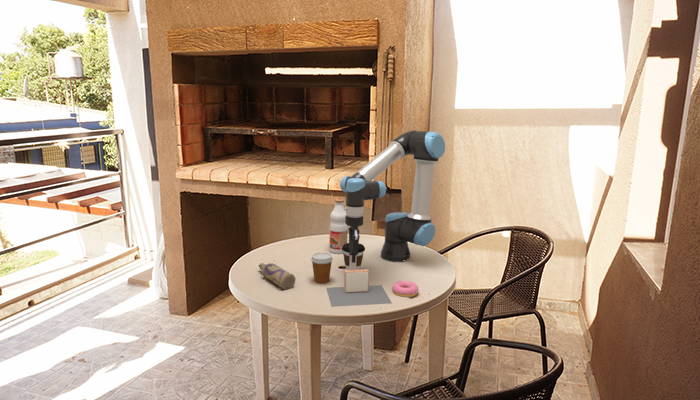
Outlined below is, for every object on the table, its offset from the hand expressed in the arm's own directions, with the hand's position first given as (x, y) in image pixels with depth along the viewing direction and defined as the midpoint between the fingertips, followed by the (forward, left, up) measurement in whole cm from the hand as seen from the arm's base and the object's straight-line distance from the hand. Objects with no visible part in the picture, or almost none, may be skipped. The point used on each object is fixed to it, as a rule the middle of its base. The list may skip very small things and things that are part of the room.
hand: (352, 268), depth 193 cm
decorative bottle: (+32, -10, -8) cm, 35 cm away
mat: (0, +12, -8) cm, 14 cm away
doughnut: (-20, +11, -8) cm, 24 cm away
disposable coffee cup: (+13, -5, -8) cm, 16 cm away
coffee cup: (-3, -17, -8) cm, 19 cm away
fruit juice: (0, -45, -8) cm, 46 cm away
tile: (0, +8, -7) cm, 10 cm away
